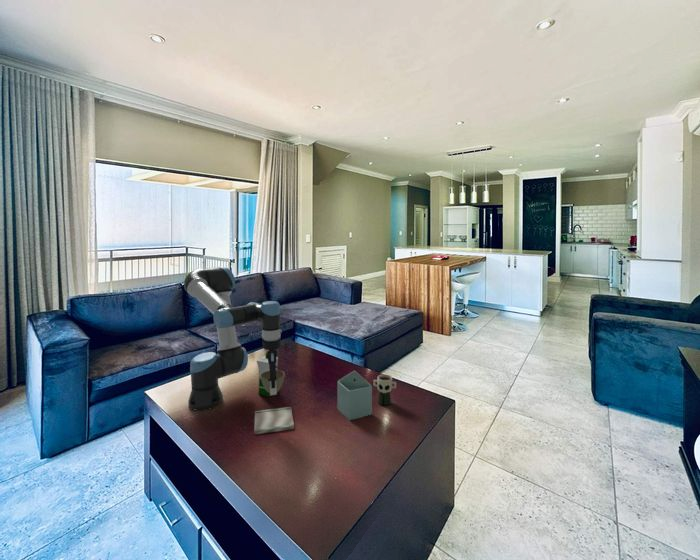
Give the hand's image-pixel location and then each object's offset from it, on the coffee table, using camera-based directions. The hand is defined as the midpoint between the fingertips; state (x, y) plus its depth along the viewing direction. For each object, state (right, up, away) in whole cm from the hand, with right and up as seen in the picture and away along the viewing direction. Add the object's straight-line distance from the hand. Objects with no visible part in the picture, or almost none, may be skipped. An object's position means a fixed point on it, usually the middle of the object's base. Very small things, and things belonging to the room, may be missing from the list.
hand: (273, 388), depth 142 cm
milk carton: (-9, -11, +28) cm, 31 cm away
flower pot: (0, -1, 0) cm, 1 cm away
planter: (+34, -14, +7) cm, 37 cm away
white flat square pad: (0, -15, +2) cm, 15 cm away
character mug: (+50, -13, +18) cm, 54 cm away
